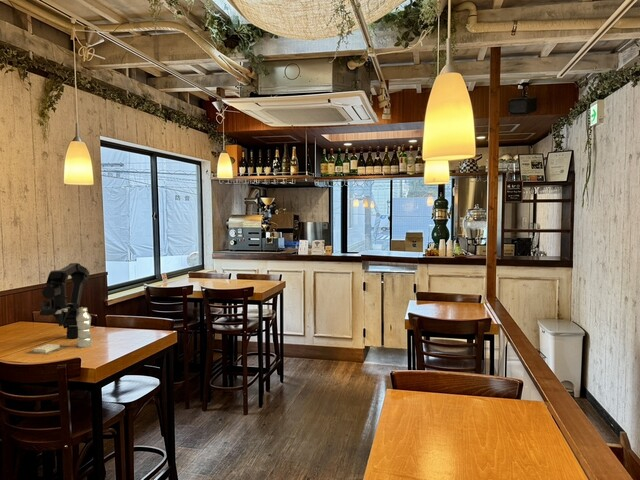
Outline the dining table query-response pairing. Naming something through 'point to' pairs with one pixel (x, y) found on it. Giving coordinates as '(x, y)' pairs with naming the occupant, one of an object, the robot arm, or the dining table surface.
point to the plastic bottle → (84, 328)
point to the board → (49, 351)
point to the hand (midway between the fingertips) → (60, 325)
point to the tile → (46, 348)
